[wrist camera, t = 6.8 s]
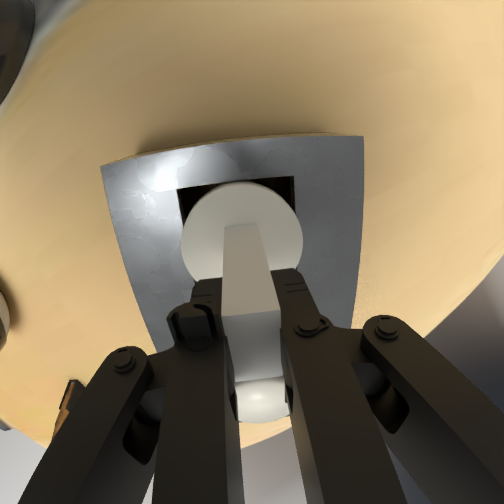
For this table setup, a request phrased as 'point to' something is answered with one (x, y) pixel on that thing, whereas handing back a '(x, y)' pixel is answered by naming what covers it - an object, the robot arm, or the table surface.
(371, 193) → the table surface
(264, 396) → the knob far
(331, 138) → the housing
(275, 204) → the knob near
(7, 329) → the pump dispenser
